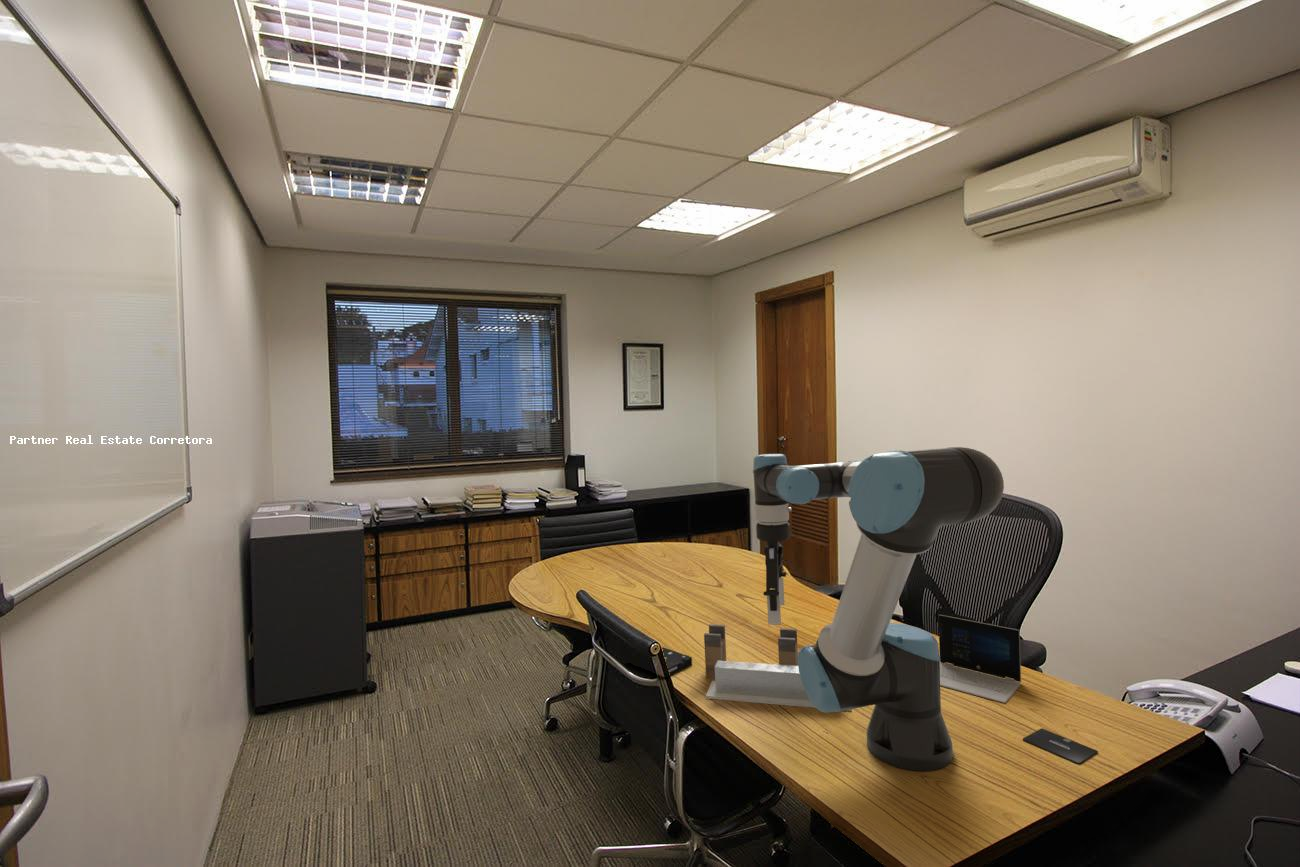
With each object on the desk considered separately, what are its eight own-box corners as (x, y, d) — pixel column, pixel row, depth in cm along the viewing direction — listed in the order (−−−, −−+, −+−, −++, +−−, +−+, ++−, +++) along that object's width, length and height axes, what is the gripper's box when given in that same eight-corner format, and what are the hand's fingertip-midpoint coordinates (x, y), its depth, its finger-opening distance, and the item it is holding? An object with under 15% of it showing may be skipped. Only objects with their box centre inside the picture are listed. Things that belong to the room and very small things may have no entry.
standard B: (722, 679, 151) (720, 635, 150) (706, 678, 152) (704, 634, 152) (726, 667, 158) (724, 625, 157) (711, 666, 159) (709, 624, 158)
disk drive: (693, 667, 160) (653, 652, 171) (692, 656, 160) (652, 642, 171) (665, 680, 153) (625, 664, 164) (665, 669, 153) (625, 654, 164)
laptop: (920, 682, 145) (918, 628, 144) (940, 665, 154) (938, 613, 153) (1005, 705, 132) (1003, 646, 132) (1021, 685, 141) (1020, 629, 141)
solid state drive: (1041, 731, 122) (1041, 727, 122) (1098, 754, 113) (1098, 751, 113) (1021, 742, 118) (1021, 738, 118) (1079, 767, 109) (1079, 763, 109)
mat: (851, 711, 132) (851, 708, 132) (705, 698, 141) (705, 695, 141) (850, 694, 140) (850, 691, 140) (712, 683, 149) (712, 680, 149)
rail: (841, 703, 135) (840, 676, 135) (715, 692, 143) (714, 667, 142) (841, 694, 139) (840, 668, 138) (718, 685, 147) (717, 660, 146)
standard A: (797, 685, 146) (795, 639, 145) (779, 683, 147) (777, 638, 146) (798, 672, 153) (796, 628, 152) (782, 671, 154) (780, 628, 153)
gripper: (786, 532, 126) (791, 634, 127) (791, 512, 150) (795, 598, 151) (750, 532, 128) (754, 632, 129) (761, 512, 153) (764, 597, 153)
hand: (776, 614), depth 140 cm, fingers open, 13 cm apart
